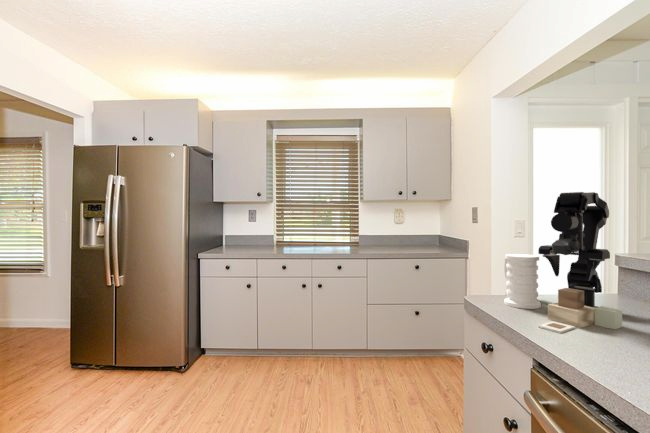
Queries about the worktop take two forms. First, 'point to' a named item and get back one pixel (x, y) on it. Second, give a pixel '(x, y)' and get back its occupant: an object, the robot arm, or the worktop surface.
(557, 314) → the birch plinth
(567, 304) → the walnut cube
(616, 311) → the sage cube
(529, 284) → the decorative container
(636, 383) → the worktop surface
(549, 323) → the card
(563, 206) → the robot arm
